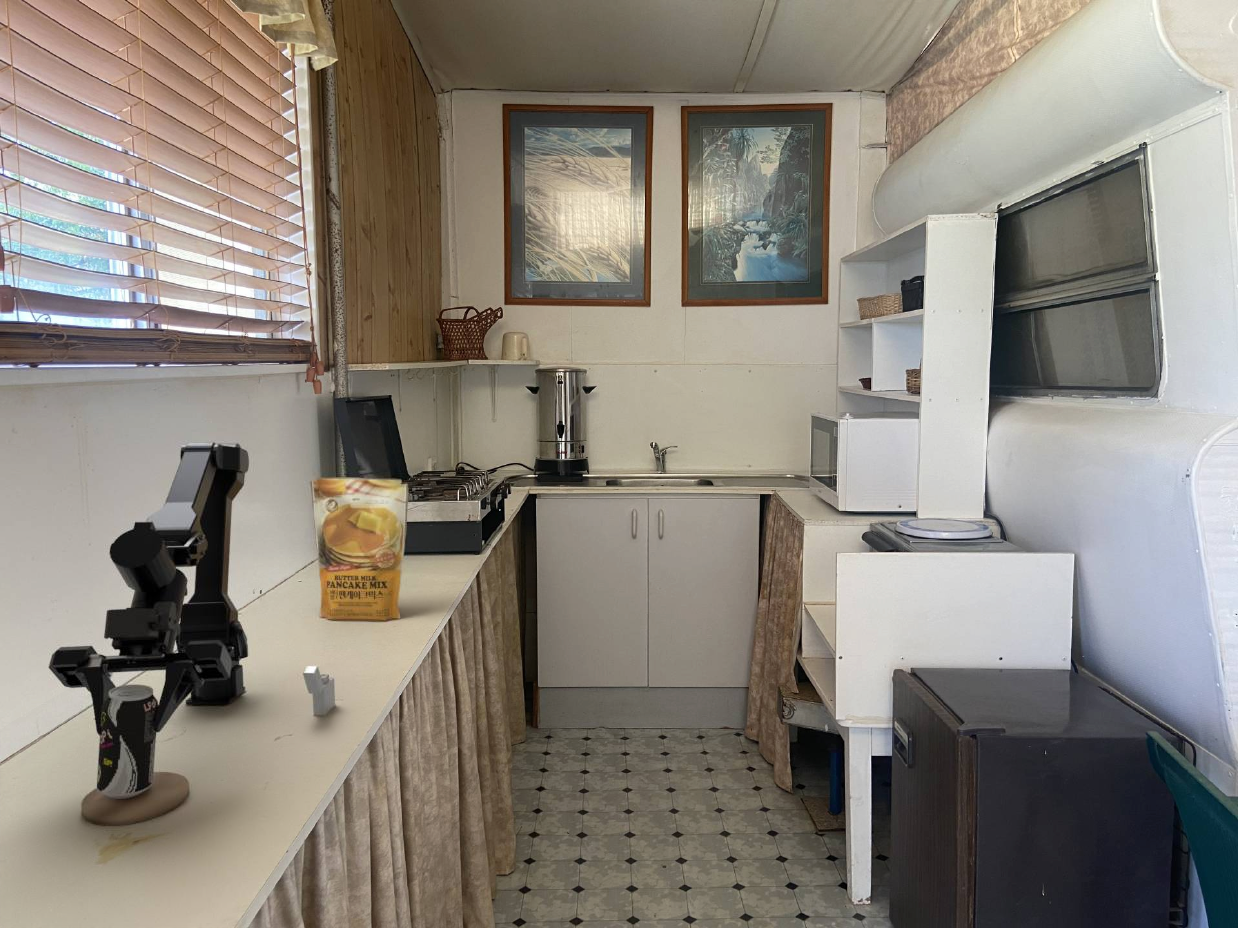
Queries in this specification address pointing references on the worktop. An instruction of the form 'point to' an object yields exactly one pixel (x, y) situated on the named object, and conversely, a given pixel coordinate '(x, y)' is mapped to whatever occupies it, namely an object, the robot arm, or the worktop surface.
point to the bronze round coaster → (137, 802)
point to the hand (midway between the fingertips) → (128, 732)
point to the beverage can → (127, 742)
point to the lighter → (320, 690)
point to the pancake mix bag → (360, 546)
